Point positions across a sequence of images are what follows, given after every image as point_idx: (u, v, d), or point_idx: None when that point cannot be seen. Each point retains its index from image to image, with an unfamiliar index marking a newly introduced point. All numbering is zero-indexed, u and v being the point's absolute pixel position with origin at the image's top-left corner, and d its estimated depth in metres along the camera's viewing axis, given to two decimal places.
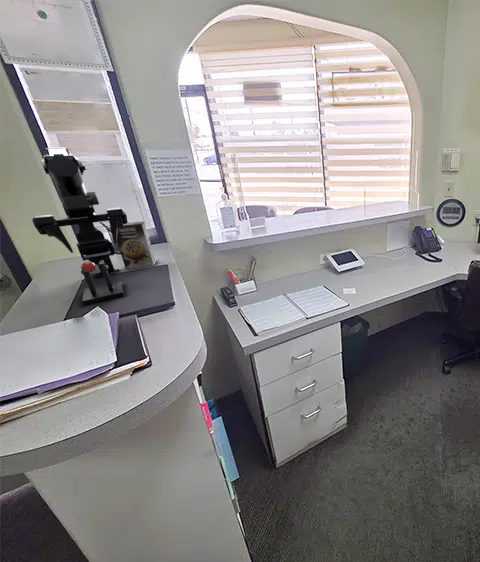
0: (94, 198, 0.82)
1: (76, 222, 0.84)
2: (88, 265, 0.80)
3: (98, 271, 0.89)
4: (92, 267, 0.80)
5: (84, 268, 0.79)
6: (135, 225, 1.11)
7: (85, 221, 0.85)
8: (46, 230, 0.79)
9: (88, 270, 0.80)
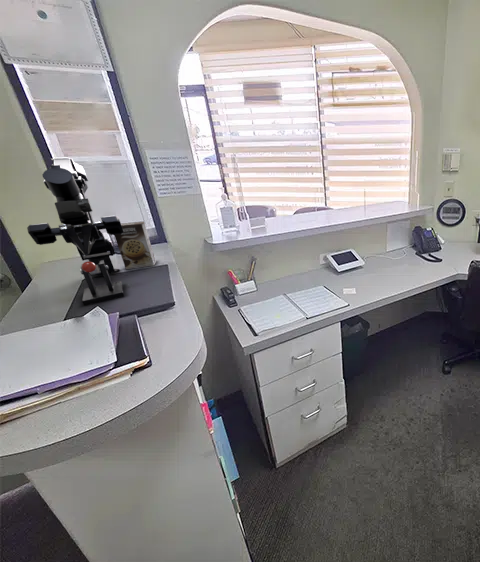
0: (86, 204, 0.83)
1: None
2: (88, 265, 0.80)
3: (98, 271, 0.89)
4: (92, 267, 0.80)
5: (84, 268, 0.79)
6: (135, 225, 1.11)
7: (58, 232, 0.83)
8: (63, 234, 0.83)
9: (88, 270, 0.80)
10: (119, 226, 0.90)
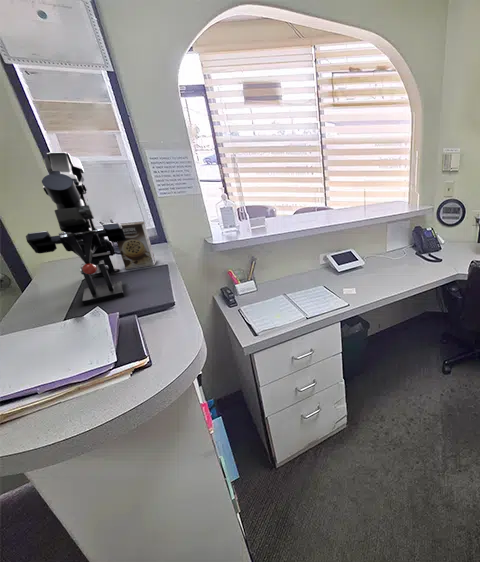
0: (87, 211, 0.80)
1: None
2: (89, 267, 0.80)
3: (98, 271, 0.89)
4: (93, 269, 0.80)
5: (85, 270, 0.79)
6: (135, 225, 1.11)
7: (58, 240, 0.80)
8: (63, 243, 0.79)
9: (89, 272, 0.80)
10: (121, 233, 0.87)
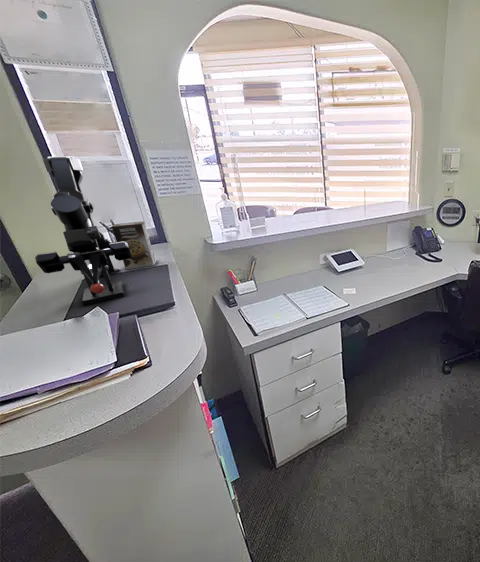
0: (95, 231, 0.81)
1: None
2: (98, 289, 0.82)
3: None
4: (101, 290, 0.83)
5: (94, 292, 0.82)
6: (135, 225, 1.11)
7: (66, 260, 0.81)
8: (71, 263, 0.81)
9: (97, 293, 0.82)
10: (128, 252, 0.89)
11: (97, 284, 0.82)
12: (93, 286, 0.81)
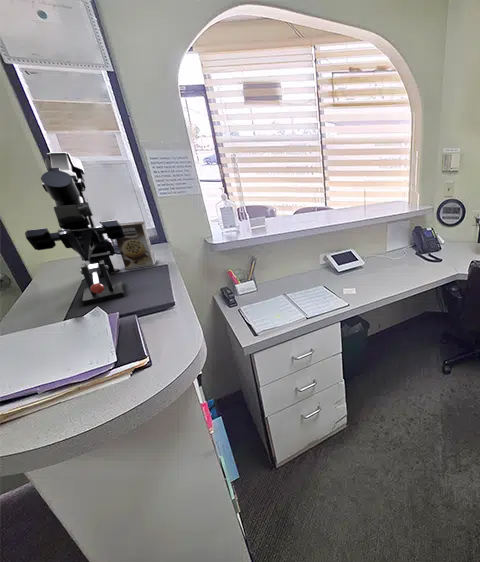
0: (86, 208, 0.80)
1: None
2: (98, 289, 0.82)
3: (99, 273, 0.89)
4: (101, 290, 0.83)
5: (94, 292, 0.82)
6: (135, 225, 1.11)
7: (57, 237, 0.80)
8: (62, 240, 0.80)
9: (97, 293, 0.82)
10: (120, 230, 0.87)
11: (97, 284, 0.82)
12: (93, 286, 0.81)
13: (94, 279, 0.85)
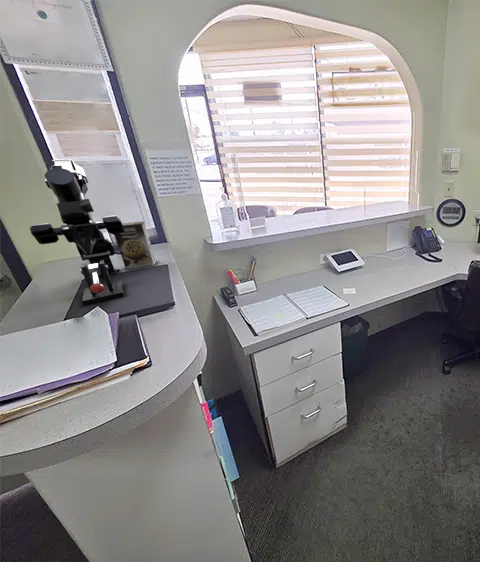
0: (88, 204, 0.84)
1: None
2: (98, 289, 0.82)
3: (99, 273, 0.89)
4: (101, 290, 0.83)
5: (94, 292, 0.82)
6: (135, 225, 1.11)
7: (60, 232, 0.84)
8: (65, 234, 0.84)
9: (97, 293, 0.82)
10: (120, 226, 0.92)
11: (97, 284, 0.82)
12: (93, 286, 0.81)
13: (94, 279, 0.85)
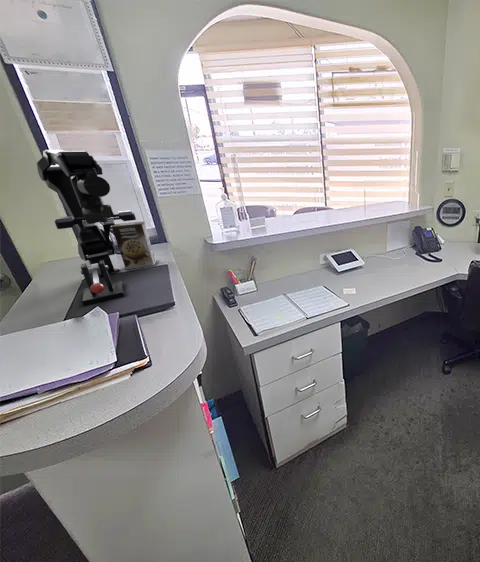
0: (110, 213, 0.92)
1: None
2: (98, 289, 0.82)
3: (99, 273, 0.89)
4: (101, 290, 0.83)
5: (94, 292, 0.82)
6: (135, 225, 1.11)
7: (80, 223, 0.93)
8: None
9: (97, 293, 0.82)
10: None
11: (97, 284, 0.82)
12: (93, 286, 0.81)
13: (94, 279, 0.85)
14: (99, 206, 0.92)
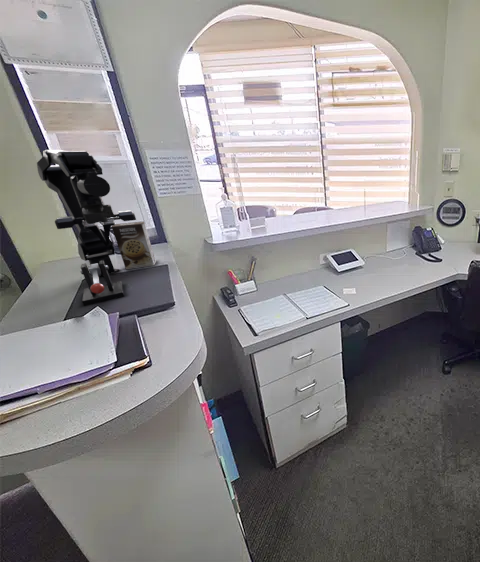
0: (110, 213, 0.92)
1: None
2: (98, 289, 0.82)
3: (99, 273, 0.89)
4: (101, 290, 0.83)
5: (94, 292, 0.82)
6: (135, 225, 1.11)
7: (80, 223, 0.93)
8: None
9: (97, 293, 0.82)
10: None
11: (97, 284, 0.82)
12: (93, 286, 0.81)
13: (94, 279, 0.85)
14: (99, 206, 0.92)
